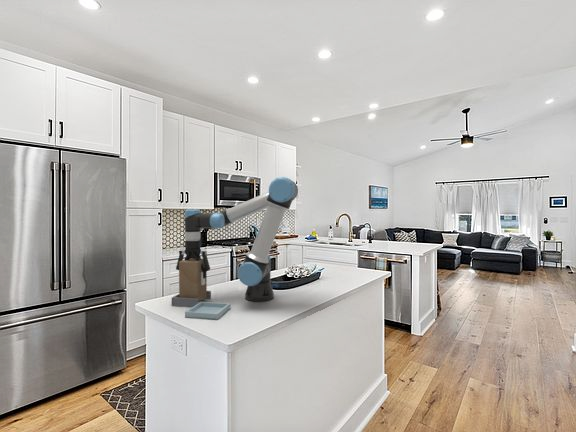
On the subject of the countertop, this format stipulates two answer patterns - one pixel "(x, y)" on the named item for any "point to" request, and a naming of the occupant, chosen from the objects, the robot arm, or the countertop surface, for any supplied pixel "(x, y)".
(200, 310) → the tray
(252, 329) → the countertop surface
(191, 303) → the bay
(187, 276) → the wooden block
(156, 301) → the countertop surface
